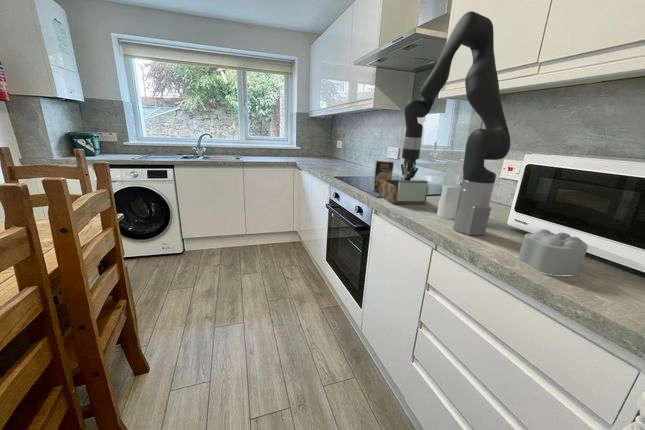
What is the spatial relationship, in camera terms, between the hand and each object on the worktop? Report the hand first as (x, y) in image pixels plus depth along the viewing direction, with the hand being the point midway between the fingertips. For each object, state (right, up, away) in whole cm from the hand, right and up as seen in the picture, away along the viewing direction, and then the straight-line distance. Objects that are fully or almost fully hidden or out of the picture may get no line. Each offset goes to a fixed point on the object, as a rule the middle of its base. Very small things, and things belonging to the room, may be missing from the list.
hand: (406, 186), depth 128 cm
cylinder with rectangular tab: (+12, -14, -17) cm, 25 cm away
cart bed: (-1, -6, +6) cm, 8 cm away
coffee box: (-7, 0, +24) cm, 25 cm away
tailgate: (+1, -7, -4) cm, 8 cm away
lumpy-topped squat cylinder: (+20, -27, -57) cm, 66 cm away
